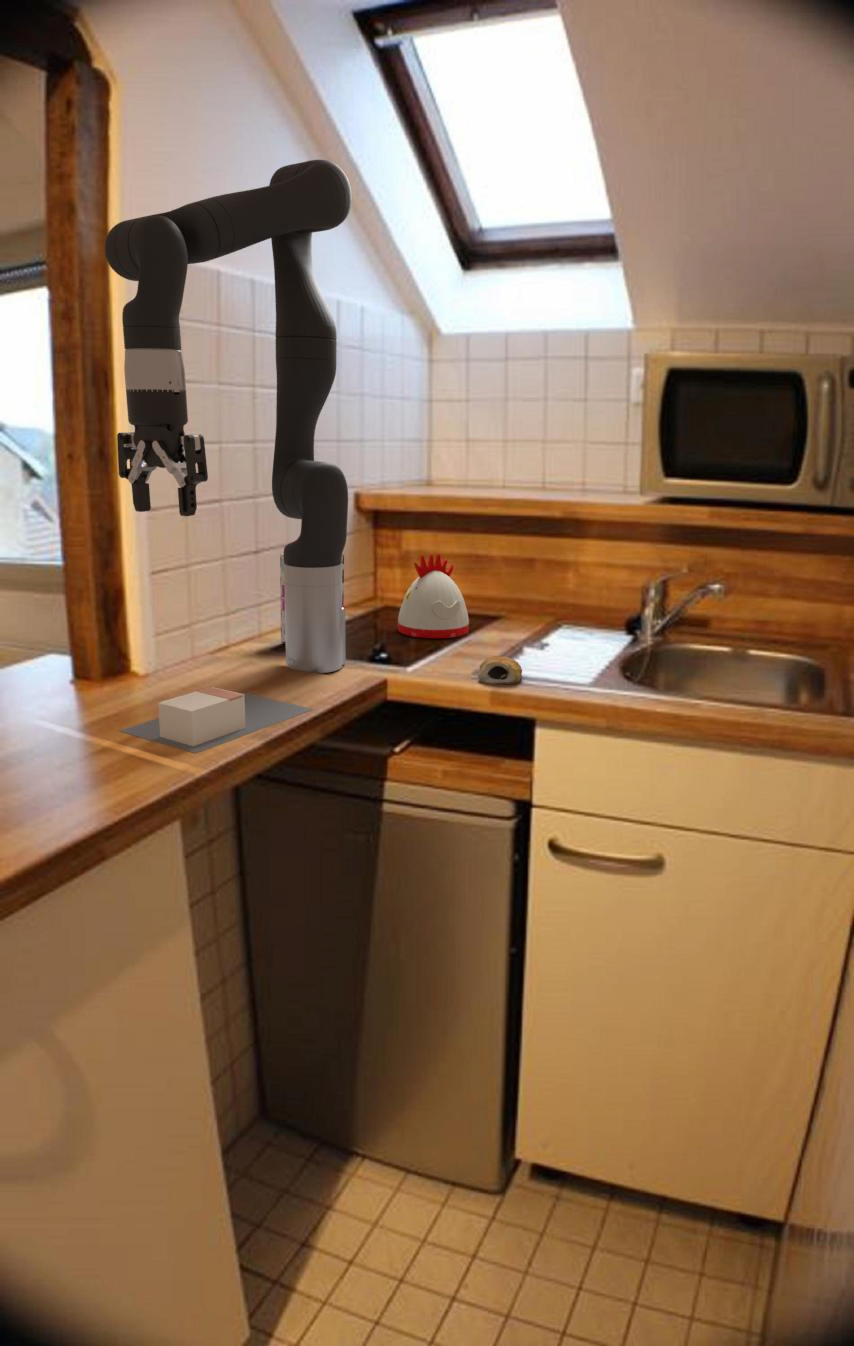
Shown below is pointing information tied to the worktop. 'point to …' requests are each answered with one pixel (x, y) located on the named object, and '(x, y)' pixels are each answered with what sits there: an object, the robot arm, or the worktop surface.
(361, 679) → the worktop surface
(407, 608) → the kitchen timer
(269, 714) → the mat
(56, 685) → the worktop surface
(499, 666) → the pastry
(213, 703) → the card deck
